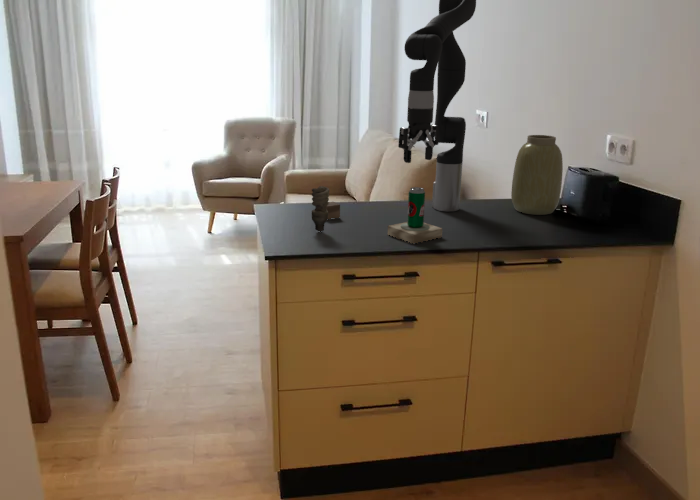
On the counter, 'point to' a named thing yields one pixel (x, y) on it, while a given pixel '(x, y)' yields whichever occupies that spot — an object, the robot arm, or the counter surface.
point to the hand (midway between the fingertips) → (418, 161)
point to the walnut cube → (333, 210)
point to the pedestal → (414, 232)
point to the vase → (537, 176)
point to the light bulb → (320, 207)
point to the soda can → (416, 207)
